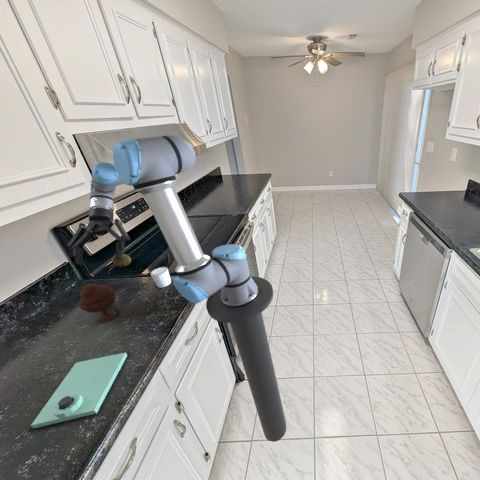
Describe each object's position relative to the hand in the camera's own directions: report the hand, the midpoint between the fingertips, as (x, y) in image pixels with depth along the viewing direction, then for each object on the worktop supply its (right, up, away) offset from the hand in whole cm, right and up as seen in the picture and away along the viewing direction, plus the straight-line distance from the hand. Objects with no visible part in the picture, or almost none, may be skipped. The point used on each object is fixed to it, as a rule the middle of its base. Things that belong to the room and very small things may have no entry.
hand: (98, 261), depth 96 cm
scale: (+18, -34, -24) cm, 45 cm away
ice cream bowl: (+2, -22, +2) cm, 22 cm away
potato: (-17, -5, +36) cm, 40 cm away
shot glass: (+13, -12, +19) cm, 26 cm away
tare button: (+19, -34, -31) cm, 50 cm away
